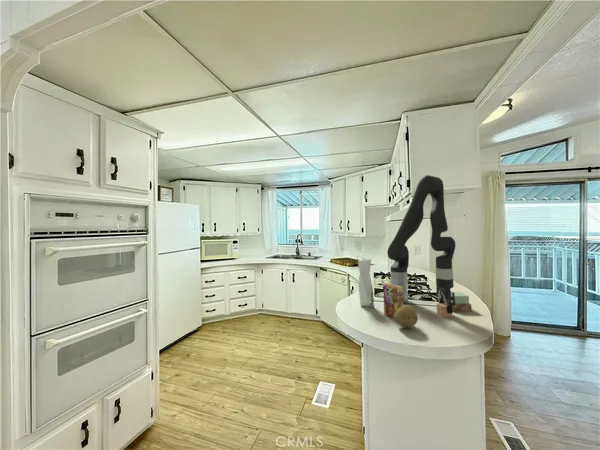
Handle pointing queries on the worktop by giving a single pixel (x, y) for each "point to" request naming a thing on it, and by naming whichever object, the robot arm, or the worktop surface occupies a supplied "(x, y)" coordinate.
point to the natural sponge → (406, 316)
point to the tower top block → (461, 298)
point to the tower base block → (461, 307)
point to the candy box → (392, 299)
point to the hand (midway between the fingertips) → (445, 310)
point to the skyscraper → (365, 283)
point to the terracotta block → (443, 310)
